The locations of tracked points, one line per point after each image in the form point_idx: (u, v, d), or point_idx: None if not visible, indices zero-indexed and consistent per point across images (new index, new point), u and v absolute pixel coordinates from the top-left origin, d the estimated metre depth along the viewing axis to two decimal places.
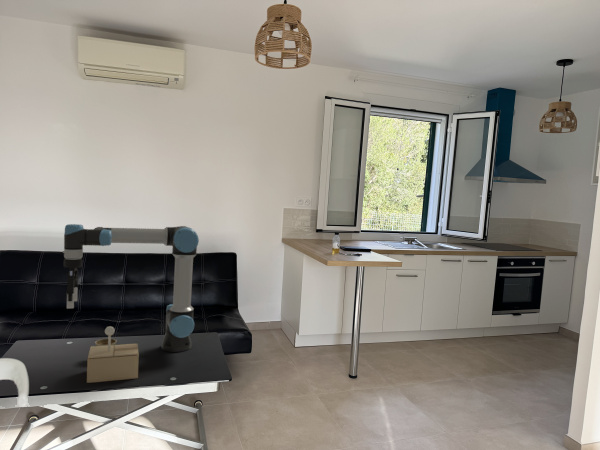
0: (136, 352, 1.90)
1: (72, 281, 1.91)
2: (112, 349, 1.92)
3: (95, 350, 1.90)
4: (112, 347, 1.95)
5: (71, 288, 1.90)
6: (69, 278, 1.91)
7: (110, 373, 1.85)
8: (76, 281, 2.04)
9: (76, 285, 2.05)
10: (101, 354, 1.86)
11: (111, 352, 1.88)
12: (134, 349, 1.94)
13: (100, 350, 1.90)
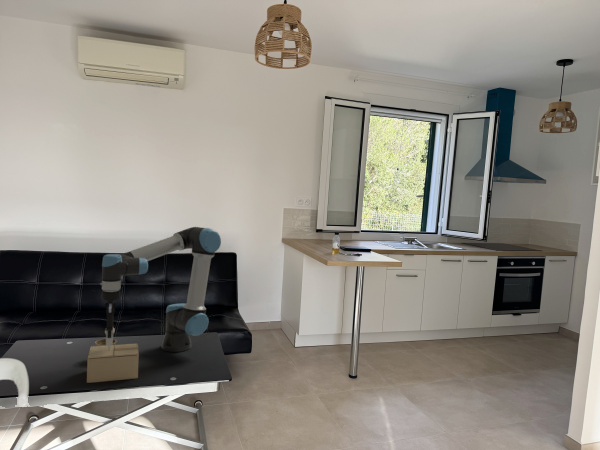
0: (136, 352, 1.90)
1: (111, 318, 1.85)
2: (112, 349, 1.92)
3: (95, 350, 1.90)
4: (112, 347, 1.95)
5: (111, 326, 1.85)
6: (108, 315, 1.85)
7: (110, 373, 1.85)
8: None
9: None
10: (101, 354, 1.86)
11: (111, 352, 1.88)
12: (134, 349, 1.94)
13: (100, 350, 1.90)
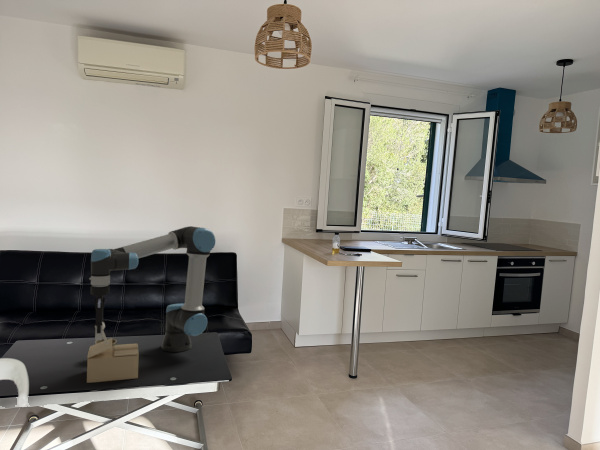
0: (136, 352, 1.90)
1: (100, 313, 1.84)
2: (110, 342, 1.92)
3: (94, 348, 1.90)
4: (110, 340, 1.94)
5: (100, 321, 1.84)
6: (97, 310, 1.83)
7: (110, 373, 1.85)
8: (102, 312, 1.91)
9: (102, 318, 1.92)
10: (99, 350, 1.85)
11: (109, 345, 1.88)
12: (134, 349, 1.94)
13: (99, 347, 1.90)
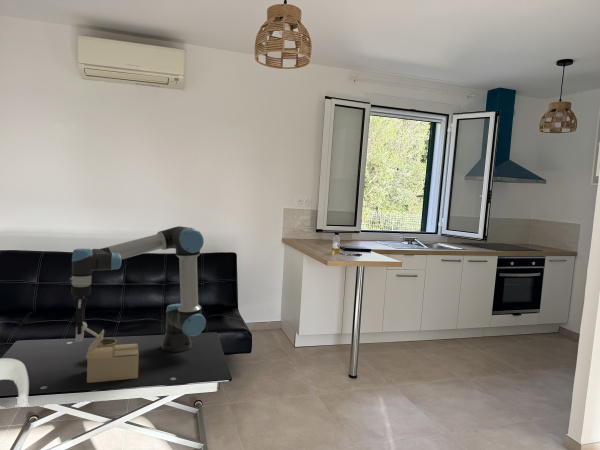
0: (136, 352, 1.90)
1: (81, 314, 1.81)
2: (101, 334, 1.90)
3: (91, 347, 1.89)
4: (101, 332, 1.93)
5: (80, 321, 1.81)
6: (78, 311, 1.80)
7: (110, 373, 1.85)
8: (83, 313, 1.88)
9: (83, 319, 1.89)
10: (94, 346, 1.84)
11: (100, 337, 1.87)
12: (134, 349, 1.94)
13: (94, 343, 1.89)
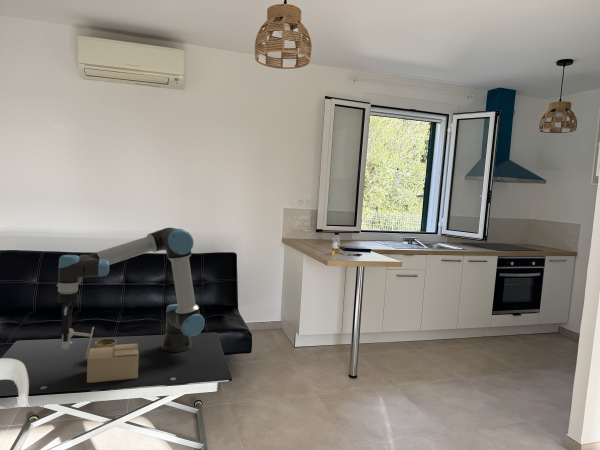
0: (136, 352, 1.90)
1: (67, 321, 1.79)
2: None
3: (88, 347, 1.89)
4: (92, 330, 1.91)
5: (66, 329, 1.79)
6: (63, 318, 1.78)
7: (110, 373, 1.85)
8: (70, 320, 1.86)
9: (69, 326, 1.87)
10: None
11: (90, 335, 1.85)
12: (134, 349, 1.94)
13: None
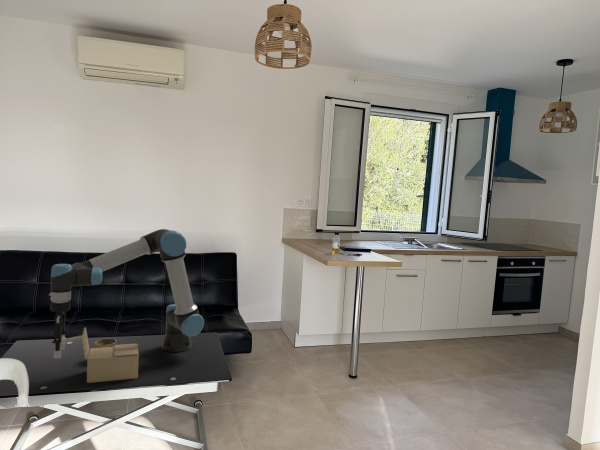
0: (136, 352, 1.90)
1: (59, 329, 1.77)
2: (83, 332, 1.87)
3: None
4: (83, 331, 1.90)
5: (58, 337, 1.76)
6: (56, 326, 1.77)
7: (110, 373, 1.85)
8: (63, 327, 1.87)
9: (63, 332, 1.88)
10: None
11: None
12: (134, 349, 1.94)
13: (85, 343, 1.88)
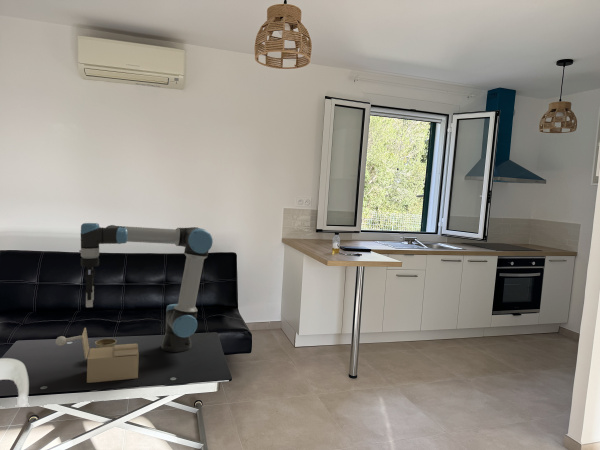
0: (136, 352, 1.90)
1: (91, 280, 1.91)
2: (83, 332, 1.87)
3: None
4: (83, 331, 1.90)
5: (90, 287, 1.90)
6: (88, 277, 1.91)
7: (110, 373, 1.85)
8: None
9: (92, 284, 2.05)
10: None
11: None
12: (134, 349, 1.94)
13: (85, 343, 1.88)
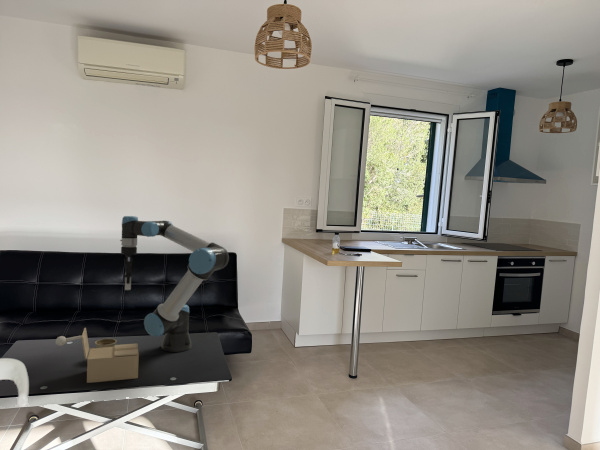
0: (136, 352, 1.90)
1: (130, 266, 2.17)
2: (83, 332, 1.87)
3: None
4: (83, 331, 1.90)
5: (129, 272, 2.16)
6: (127, 263, 2.17)
7: (110, 373, 1.85)
8: None
9: None
10: None
11: None
12: (134, 349, 1.94)
13: (85, 343, 1.88)
